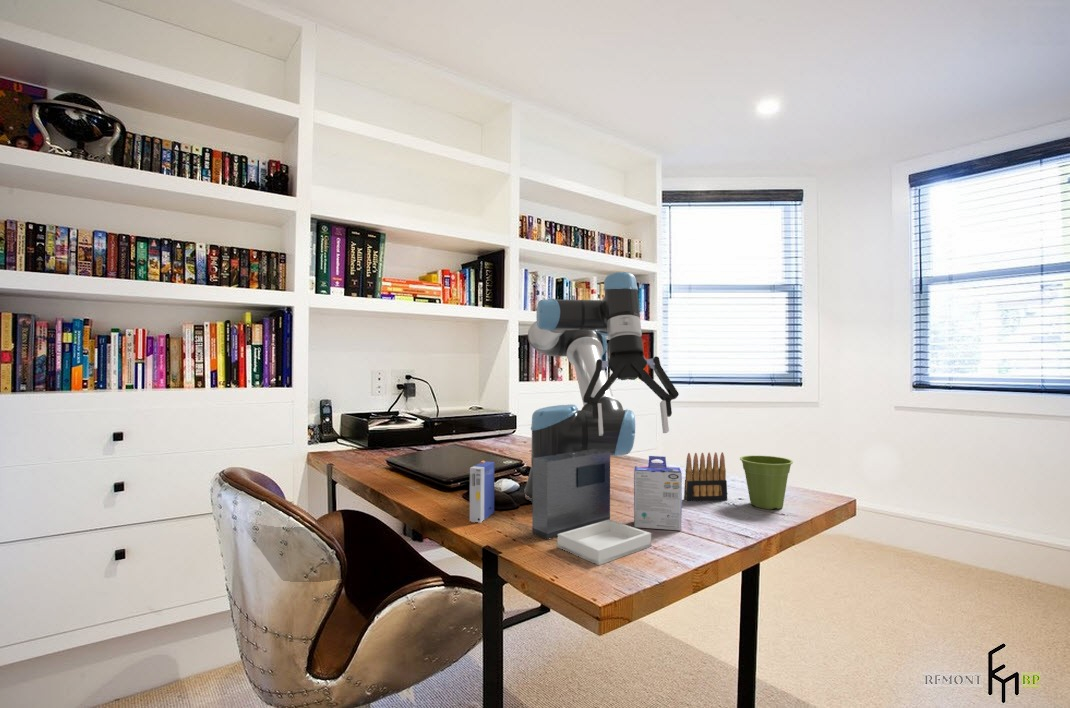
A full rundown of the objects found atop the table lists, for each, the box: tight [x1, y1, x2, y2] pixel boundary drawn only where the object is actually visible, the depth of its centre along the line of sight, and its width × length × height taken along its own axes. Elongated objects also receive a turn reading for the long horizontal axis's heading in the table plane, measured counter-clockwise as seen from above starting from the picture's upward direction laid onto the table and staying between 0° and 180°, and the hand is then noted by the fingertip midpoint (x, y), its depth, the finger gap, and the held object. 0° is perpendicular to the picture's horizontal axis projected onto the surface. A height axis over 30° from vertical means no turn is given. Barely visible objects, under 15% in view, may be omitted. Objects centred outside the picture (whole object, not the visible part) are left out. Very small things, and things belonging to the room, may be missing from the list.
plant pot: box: [739, 455, 794, 510], centre depth 124 cm, size 12×12×11 cm
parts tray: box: [557, 518, 652, 566], centre depth 96 cm, size 11×14×2 cm
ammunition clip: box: [683, 452, 728, 503], centre depth 129 cm, size 11×2×12 cm, turn 96°
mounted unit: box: [531, 449, 611, 540], centre depth 107 cm, size 5×18×15 cm, turn 129°
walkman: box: [469, 460, 495, 524], centre depth 114 cm, size 8×3×12 cm, turn 162°
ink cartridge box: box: [633, 455, 683, 531], centre depth 108 cm, size 10×6×14 cm, turn 78°
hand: (633, 433), depth 108 cm, fingers open, 13 cm apart
